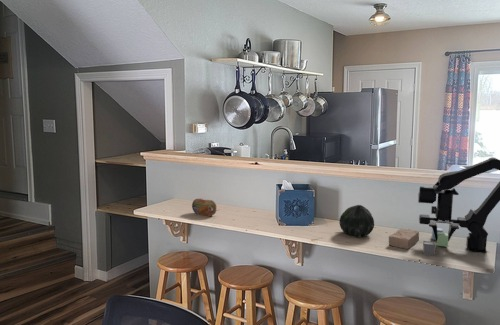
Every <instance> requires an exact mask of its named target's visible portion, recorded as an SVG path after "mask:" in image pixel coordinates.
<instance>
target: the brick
mask: <svg viewBox="0 0 500 325" xmlns="http://www.w3.org/2000/svg"><path fill="white" fill-rule="evenodd" d="M419 240H420V231H419V230H416V229H410V228H403V227H401V228H400V229H397V231H396V232H394V233H392V234H390V235H388V245H389V246H392V247H395V248H398V249H399V248H400V249H405V250H408V249H411V248H412V247H413V246H414V245H415V244H416V243H417V242H418V241H419Z"/></svg>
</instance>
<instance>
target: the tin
mask: <svg viewBox="0 0 500 325" xmlns="http://www.w3.org/2000/svg"><path fill="white" fill-rule="evenodd" d="M191 208H192V211H193V212H194V214H195V215H199V216H205V217H213V216H214V215H215V214H216V212H217V204H216V203H215V201H214V200H212V199H205V198H195V199H194V200H193V202H192V204H191Z"/></svg>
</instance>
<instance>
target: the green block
mask: <svg viewBox="0 0 500 325" xmlns="http://www.w3.org/2000/svg"><path fill="white" fill-rule="evenodd" d="M437 237H438V238H437V241H436V240H435V241H436V243H435V244H436V246H438V247H447V248H448V247H449V242H448V232H443V233H439V232H437Z"/></svg>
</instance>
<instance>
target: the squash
mask: <svg viewBox="0 0 500 325" xmlns="http://www.w3.org/2000/svg"><path fill="white" fill-rule="evenodd" d="M338 222H339V227H340V229H341V230H342V232H344V233H346V234H347V235H351V236H354V237H356V238H359V237H361V238H364V237H366V236H368V235H369V234H371V233H372V232H373V230H374V228H375V218H374V216H373V214H372V213H371V211H370V210H369V209H367V208H366V207H365V206H364V205H362V204H356V205H352V206H349V207H347V208H346V209H345V210H344V211H343V213H341V215H340V218H339V220H338Z"/></svg>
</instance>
